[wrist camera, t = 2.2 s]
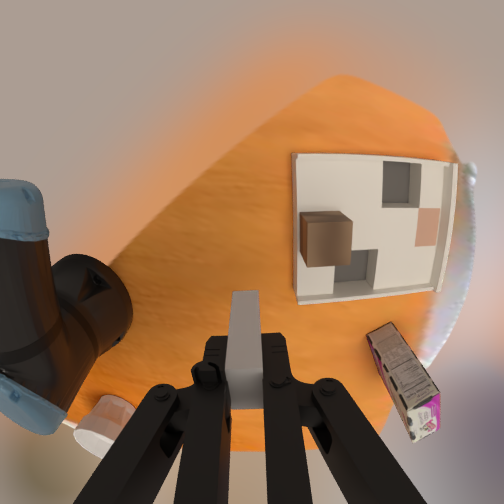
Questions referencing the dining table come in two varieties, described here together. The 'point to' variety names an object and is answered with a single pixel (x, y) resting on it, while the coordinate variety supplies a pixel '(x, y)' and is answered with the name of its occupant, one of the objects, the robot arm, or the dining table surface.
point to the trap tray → (376, 223)
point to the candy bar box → (406, 382)
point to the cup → (103, 424)
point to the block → (325, 238)
